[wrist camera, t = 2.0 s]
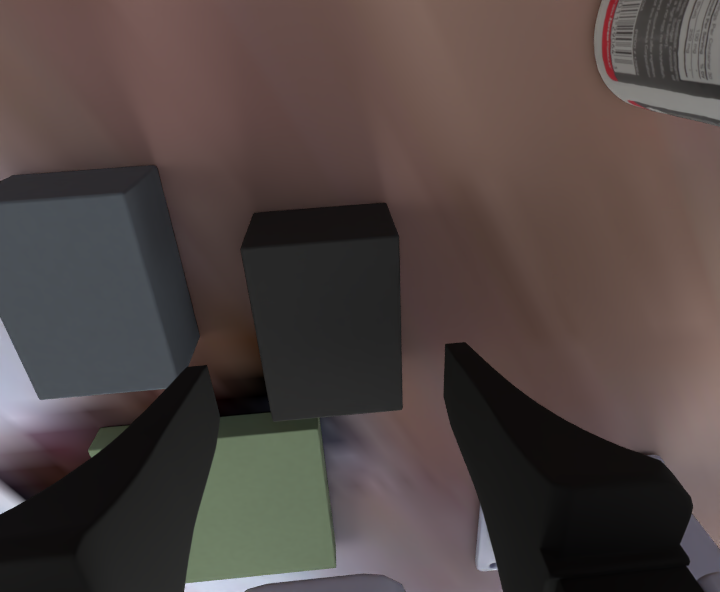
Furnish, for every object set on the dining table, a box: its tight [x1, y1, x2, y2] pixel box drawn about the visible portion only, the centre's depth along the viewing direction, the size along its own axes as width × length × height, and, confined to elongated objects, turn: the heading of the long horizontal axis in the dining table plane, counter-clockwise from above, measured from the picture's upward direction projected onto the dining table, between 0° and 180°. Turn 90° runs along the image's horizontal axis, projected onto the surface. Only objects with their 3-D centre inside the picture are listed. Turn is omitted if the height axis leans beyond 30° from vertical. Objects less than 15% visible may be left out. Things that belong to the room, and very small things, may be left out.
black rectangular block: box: [240, 203, 403, 422], centre depth 19 cm, size 5×7×3 cm
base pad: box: [88, 412, 336, 583], centre depth 25 cm, size 10×10×1 cm
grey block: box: [0, 165, 200, 400], centre depth 17 cm, size 5×7×3 cm
